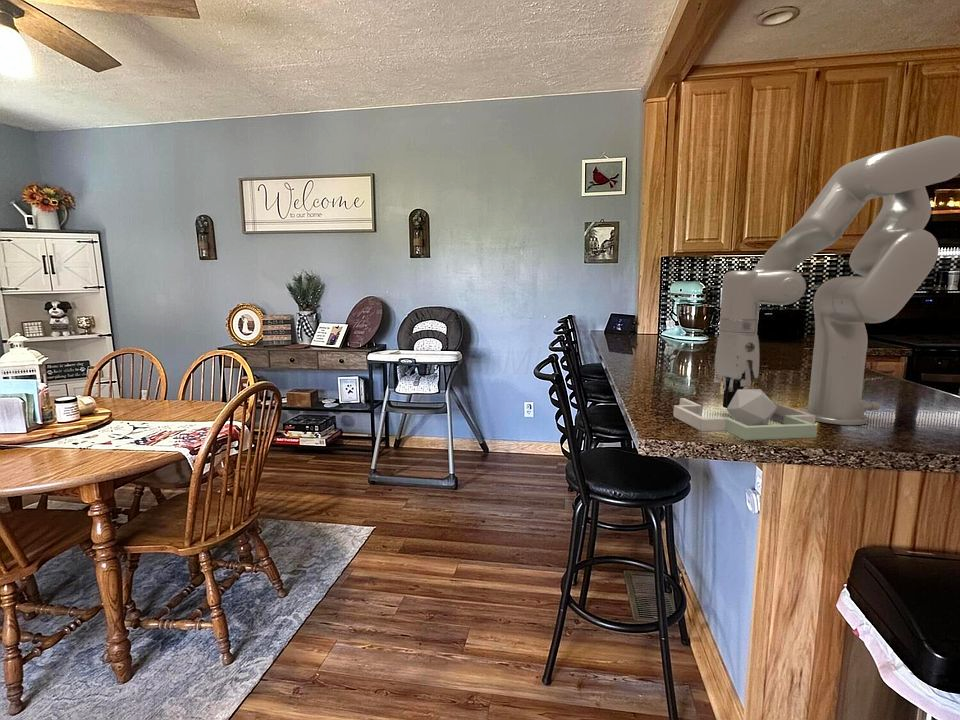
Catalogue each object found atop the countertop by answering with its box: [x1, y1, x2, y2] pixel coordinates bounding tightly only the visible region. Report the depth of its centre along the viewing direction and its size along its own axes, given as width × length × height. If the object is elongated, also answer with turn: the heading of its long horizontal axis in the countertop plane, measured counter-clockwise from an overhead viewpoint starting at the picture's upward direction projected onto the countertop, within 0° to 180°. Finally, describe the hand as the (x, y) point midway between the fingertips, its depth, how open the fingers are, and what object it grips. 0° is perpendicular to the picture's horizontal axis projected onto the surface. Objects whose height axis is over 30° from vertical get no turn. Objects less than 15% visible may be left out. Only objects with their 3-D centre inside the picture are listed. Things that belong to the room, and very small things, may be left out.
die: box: [725, 388, 777, 426], centre depth 105 cm, size 8×9×10 cm
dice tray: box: [673, 397, 818, 441], centre depth 110 cm, size 25×26×2 cm
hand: (731, 407), depth 112 cm, fingers closed
